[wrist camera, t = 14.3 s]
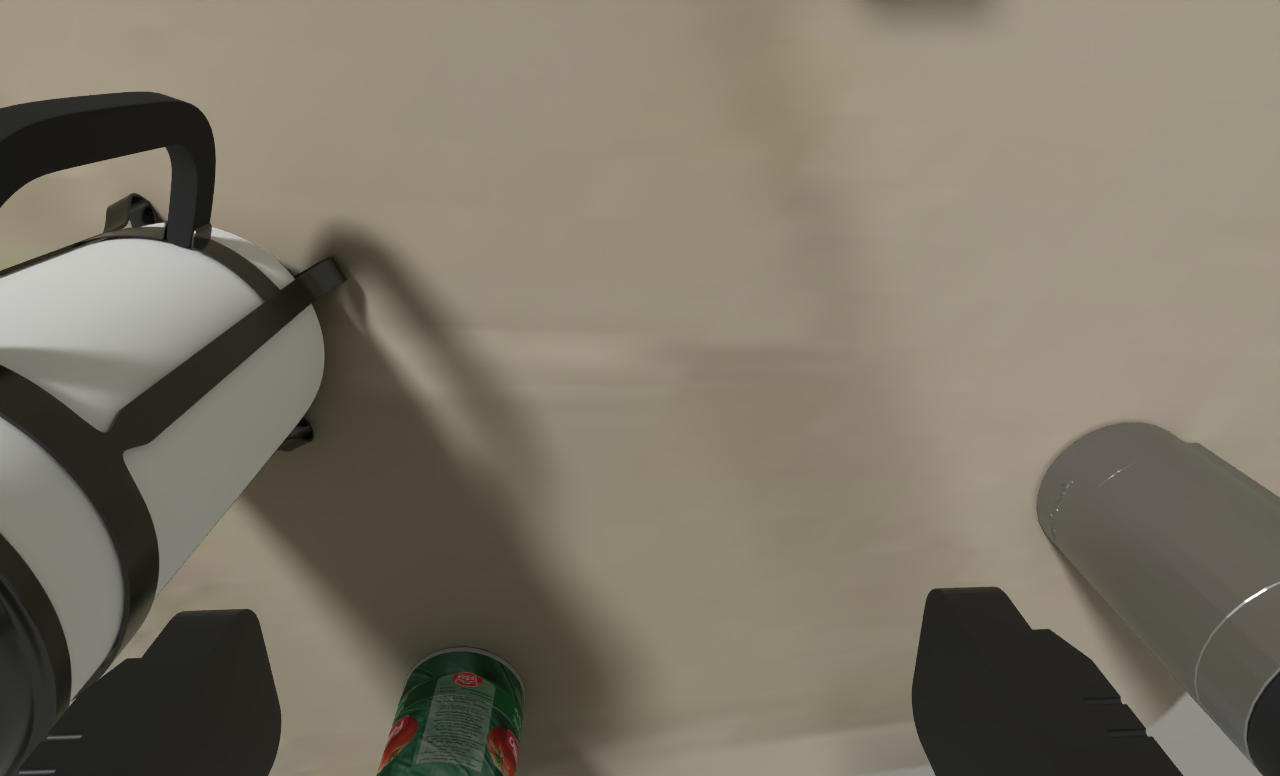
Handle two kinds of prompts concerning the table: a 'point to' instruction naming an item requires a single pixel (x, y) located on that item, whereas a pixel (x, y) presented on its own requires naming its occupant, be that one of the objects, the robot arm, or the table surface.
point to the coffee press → (129, 396)
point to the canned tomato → (457, 717)
